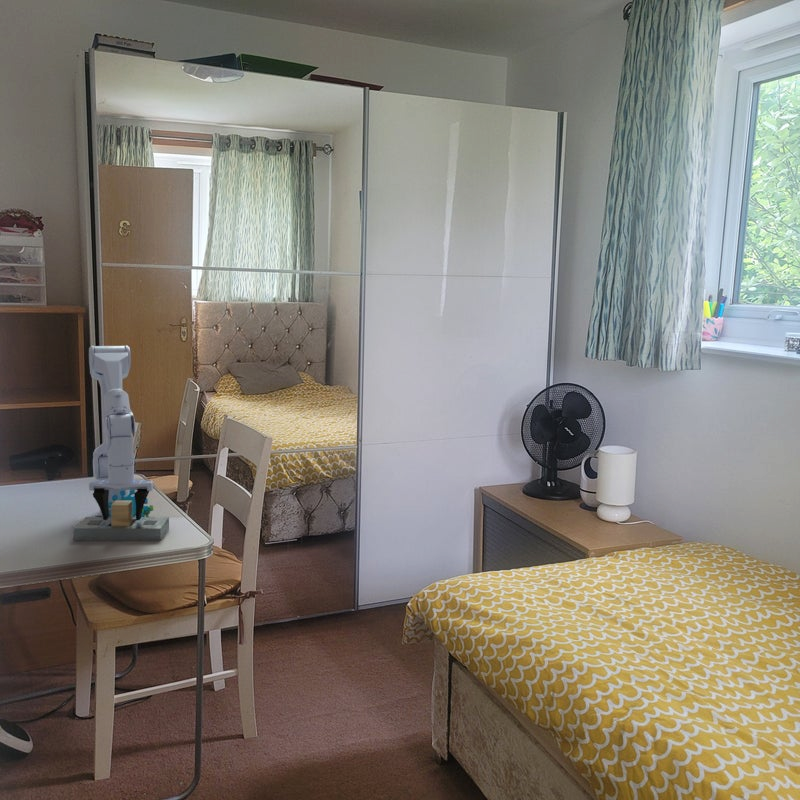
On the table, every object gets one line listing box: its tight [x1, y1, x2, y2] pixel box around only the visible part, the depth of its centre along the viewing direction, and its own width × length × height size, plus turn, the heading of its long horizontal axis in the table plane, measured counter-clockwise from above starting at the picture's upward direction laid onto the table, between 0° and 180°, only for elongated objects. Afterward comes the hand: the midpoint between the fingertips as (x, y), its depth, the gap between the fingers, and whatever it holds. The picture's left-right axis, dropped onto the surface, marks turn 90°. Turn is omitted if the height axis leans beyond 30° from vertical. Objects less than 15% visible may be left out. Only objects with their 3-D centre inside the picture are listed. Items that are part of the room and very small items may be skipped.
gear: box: [108, 490, 154, 517], centre depth 197 cm, size 11×6×10 cm
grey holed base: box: [73, 516, 170, 542], centre depth 185 cm, size 9×20×3 cm, turn 94°
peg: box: [110, 501, 133, 526], centre depth 184 cm, size 4×4×8 cm
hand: (122, 518), depth 185 cm, fingers open, 7 cm apart
